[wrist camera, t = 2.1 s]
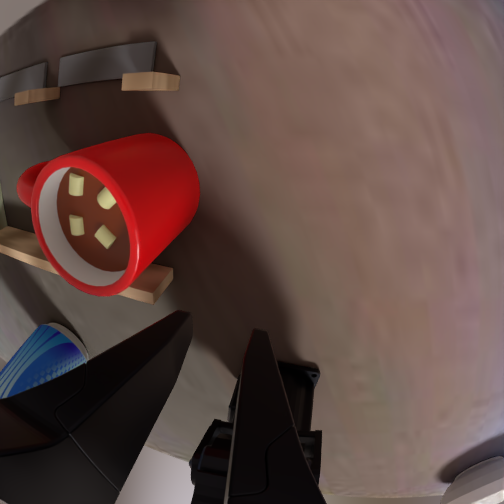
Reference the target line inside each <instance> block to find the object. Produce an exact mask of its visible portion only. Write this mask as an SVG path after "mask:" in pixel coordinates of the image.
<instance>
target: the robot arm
mask: <svg viewBox="0 0 504 504" xmlns="http://www.w3.org/2000/svg"><path fill="white" fill-rule="evenodd" d="M192 333H193V331H192V314H191V313H190V312H186V311H182V310H177V311H175V312H173V313H172V314H170V315H168V316H166V317H165V318H163V319H161V320H159V321H158V322H156V323H154V324H152V325H151V326H149V327H147V328H145V329H143V330H142V331H140V332H138V333H136V334H135V335H133V336H131V337H129V338H128V339H126V340H124V341H122V342H121V343H119V344H117V345H115V346H113V347H112V348H110V349H108V350H106V351H104V352H103V353H101V354H99V355H97V356H96V357H94V358H92V359H90V360H88V361H87V362H86V363H83V364H81V365H79V366H77V367H76V368H74V369H72V370H70V371H68V372H66V373H64V374H62V375H60V376H58V377H56V378H54V379H51V380H49V381H47V382H45V383H42V384H40V385H37V386H35V387H32V388H30V389H28V390H25V391H23V392H20V393H18V394H15V395H13V396H10V397H6V398H2V399H0V504H115V501H116V500H117V497H118V495H119V492H120V491H121V489H122V487H123V485H124V483H125V481H126V479H127V477H128V475H129V473H130V471H131V469H132V468H133V465H134V464H135V462H136V460H137V458H138V456H139V454H140V452H141V450H142V448H143V446H144V444H145V442H146V440H147V438H148V436H149V434H150V432H151V430H152V428H153V426H154V424H155V422H156V420H157V418H158V416H159V415H160V413H161V411H162V409H163V407H164V405H165V403H166V401H167V399H168V397H169V395H170V393H171V391H172V389H173V387H174V385H175V383H176V381H177V378H178V375H179V373H180V370H181V367H182V364H183V362H184V359H185V356H186V353H187V351H188V348H189V345H190V342H191V339H192ZM319 377H320V371H319V370H318V369H314V368H308V367H302V366H297V365H291V364H286V363H281V362H277V361H276V357H275V354H274V350H273V347H272V343H271V340H270V336H269V333H268V331H267V330H263V329H258V328H254V329H253V331H252V334H251V337H250V340H249V343H248V345H247V348H246V351H245V354H244V358H243V363H242V370H241V374H239V377H238V380H237V383H236V386H235V389H234V393H233V396H232V399H231V402H230V405H229V411H228V422H224V421H221V420H218V419H214V421H213V423H212V424H211V426H209V428H208V430H207V432H206V433H205V435H204V437H203V439H202V440H201V442H200V444H199V446H198V447H197V449H196V451H195V453H194V454H193V457H192V458H191V460H190V462H189V466H190V468H191V481H192V484H193V485H195V489H194V494H193V498H192V501H191V504H327V503H326V501H325V499H324V497H323V495H322V493H321V491H320V489H319V487H318V484H319V477H320V467H321V446H322V430H315V431H310V430H311V420H312V409H313V397H314V388H315V386H316V384H317V382H318V379H319Z"/></svg>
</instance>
